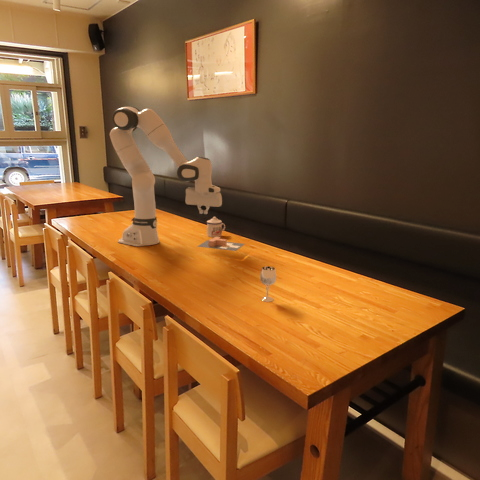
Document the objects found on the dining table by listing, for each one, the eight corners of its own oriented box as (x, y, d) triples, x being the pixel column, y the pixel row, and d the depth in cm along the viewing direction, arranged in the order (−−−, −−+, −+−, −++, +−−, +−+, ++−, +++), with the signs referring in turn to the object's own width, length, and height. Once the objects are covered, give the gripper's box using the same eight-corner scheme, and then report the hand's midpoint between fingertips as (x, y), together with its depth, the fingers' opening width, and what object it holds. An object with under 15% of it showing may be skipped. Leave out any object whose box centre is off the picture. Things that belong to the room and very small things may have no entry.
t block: (208, 246, 211) (208, 240, 210) (215, 241, 220) (215, 236, 219) (222, 247, 208) (222, 242, 207) (228, 243, 217) (229, 238, 217)
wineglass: (265, 295, 149) (266, 264, 146) (278, 299, 145) (279, 268, 142) (256, 299, 144) (257, 268, 141) (269, 303, 141) (270, 272, 138)
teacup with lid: (211, 238, 228) (211, 219, 225) (203, 235, 236) (203, 216, 233) (229, 236, 235) (229, 217, 232) (220, 233, 242) (221, 214, 239)
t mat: (197, 247, 210) (197, 246, 210) (208, 240, 224) (208, 239, 224) (235, 252, 203) (235, 250, 203) (244, 244, 217) (244, 243, 217)
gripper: (183, 187, 209) (183, 213, 213) (218, 189, 203) (218, 216, 207) (188, 186, 215) (188, 211, 219) (223, 188, 209) (223, 214, 212)
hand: (203, 213), depth 212 cm, fingers closed
